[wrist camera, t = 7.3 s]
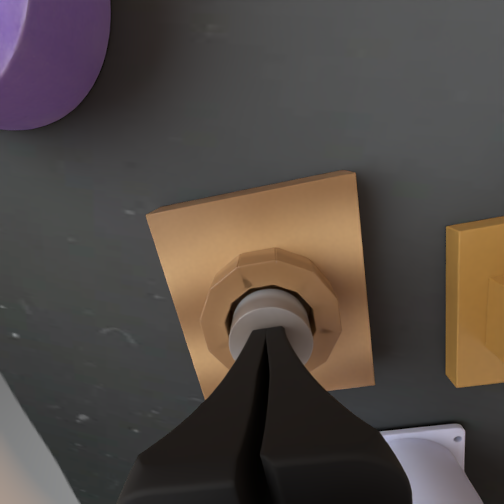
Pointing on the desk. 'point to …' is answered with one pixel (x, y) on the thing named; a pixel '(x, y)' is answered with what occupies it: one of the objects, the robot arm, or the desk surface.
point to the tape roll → (49, 58)
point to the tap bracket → (475, 302)
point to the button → (271, 321)
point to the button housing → (271, 270)
